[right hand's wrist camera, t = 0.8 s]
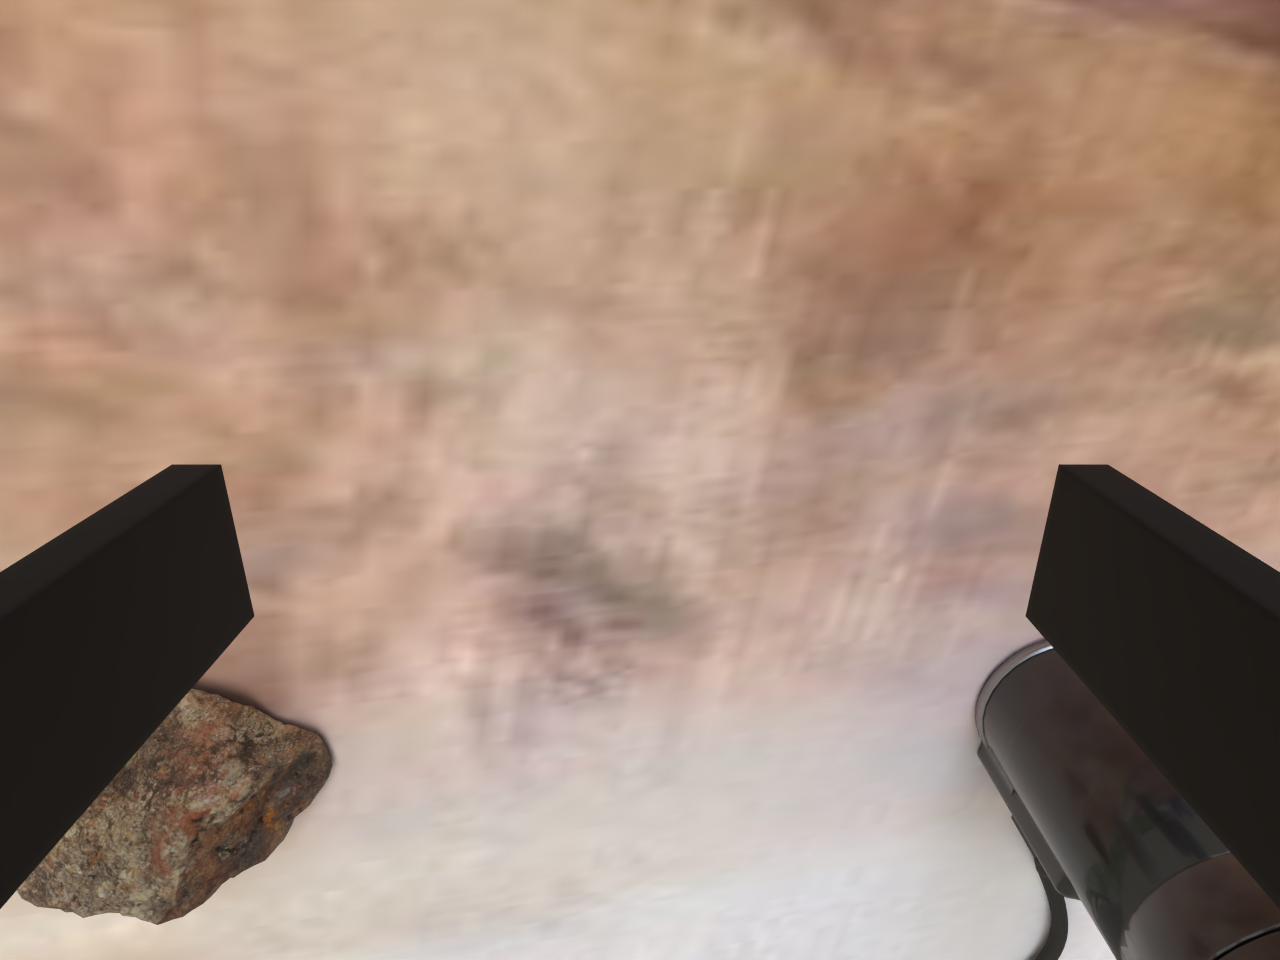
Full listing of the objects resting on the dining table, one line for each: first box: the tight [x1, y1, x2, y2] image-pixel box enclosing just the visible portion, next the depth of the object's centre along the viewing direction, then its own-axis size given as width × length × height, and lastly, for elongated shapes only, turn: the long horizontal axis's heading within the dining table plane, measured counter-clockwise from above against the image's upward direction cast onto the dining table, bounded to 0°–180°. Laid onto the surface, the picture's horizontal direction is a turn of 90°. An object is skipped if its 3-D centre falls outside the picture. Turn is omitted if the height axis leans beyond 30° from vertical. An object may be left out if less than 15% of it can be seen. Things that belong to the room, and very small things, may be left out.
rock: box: [17, 689, 332, 925], centre depth 41 cm, size 14×9×10 cm
